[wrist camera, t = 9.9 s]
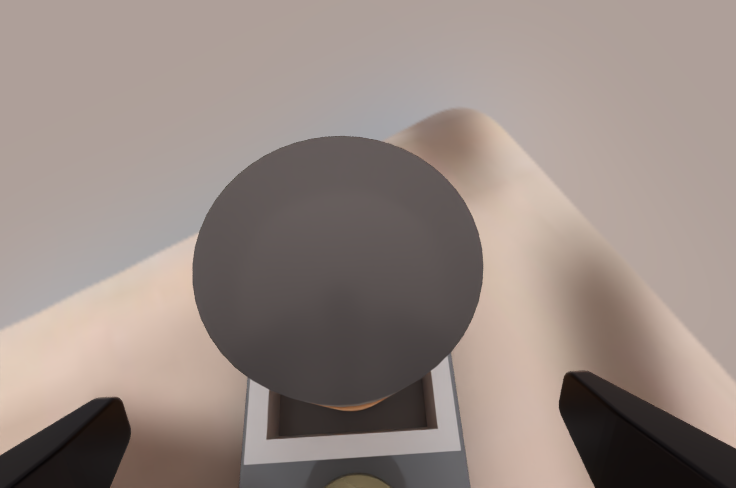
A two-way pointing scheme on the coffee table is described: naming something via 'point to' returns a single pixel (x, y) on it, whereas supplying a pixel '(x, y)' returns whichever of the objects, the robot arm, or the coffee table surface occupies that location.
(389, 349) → the peg
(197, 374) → the coffee table surface
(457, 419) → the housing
